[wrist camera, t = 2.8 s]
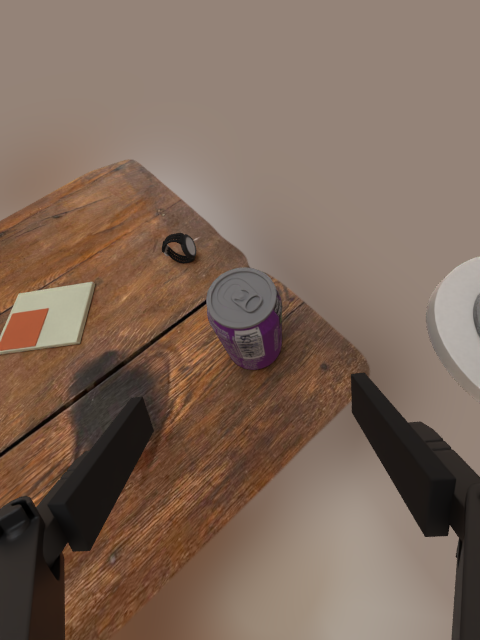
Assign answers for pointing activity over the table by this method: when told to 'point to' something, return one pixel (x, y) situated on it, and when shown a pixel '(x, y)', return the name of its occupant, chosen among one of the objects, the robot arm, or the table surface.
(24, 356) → the table surface
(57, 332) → the mat
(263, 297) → the beverage can
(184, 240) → the black strap with disc
